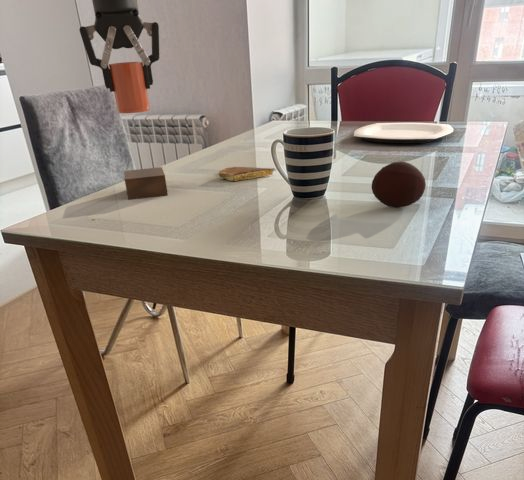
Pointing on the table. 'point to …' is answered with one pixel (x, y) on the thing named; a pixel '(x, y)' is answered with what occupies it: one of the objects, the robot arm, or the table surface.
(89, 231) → the table surface
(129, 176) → the block
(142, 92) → the cup
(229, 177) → the cake slice
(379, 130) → the plate
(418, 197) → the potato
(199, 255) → the table surface
